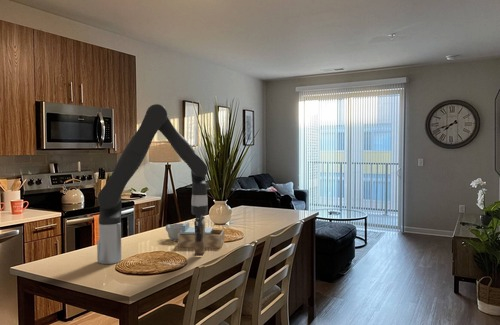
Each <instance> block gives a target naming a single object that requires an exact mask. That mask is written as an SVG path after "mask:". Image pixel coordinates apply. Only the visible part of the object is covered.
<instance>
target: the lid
mask: <svg viewBox="0 0 500 325" xmlns="http://www.w3.org/2000/svg"><path fill="white" fill-rule="evenodd" d="M182 224H183V225H182V230H181V231H180V234H195V226H190V221H185V222H184V223H182ZM213 229H214V226H205V234H210V233H211V232H212V230H213Z"/></svg>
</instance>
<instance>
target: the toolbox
mask: <svg viewBox="0 0 500 325" xmlns="http://www.w3.org/2000/svg"><path fill="white" fill-rule="evenodd" d="M225 230H226V229H214V228H213V230H212V232H211V233H210V234H205V248H219V249H220V248H222V247H224V246H223V245H224V244H225V239H226V238H225V233H226V232H225ZM177 247H178V248H195V234H180V233H179V234H178V241H177Z"/></svg>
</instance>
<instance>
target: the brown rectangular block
mask: <svg viewBox="0 0 500 325" xmlns="http://www.w3.org/2000/svg"><path fill="white" fill-rule="evenodd" d="M200 227H201V226H200ZM205 227H206V223H205V221H204V223H203V228H202V231H201V232H202V233H201V242H197V241H196V233H195V247H194V254H196V255H198V254H199V255H204V254H205V252H206V247H205ZM197 230H199V229H197Z"/></svg>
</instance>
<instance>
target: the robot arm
mask: <svg viewBox="0 0 500 325" xmlns="http://www.w3.org/2000/svg"><path fill="white" fill-rule="evenodd" d="M158 131H159V132H160V134H162V135H163V136H164V138H165V139H166V140H167V141H168V143H169V144H170V146H171V147H172V149H173V150H174V151H175V152H176V154H177V155H178V156H179V158H180V159H181V160H182V161H183V162H184V163H185V164H186V165H187V166H188V168H189V169H190V174H191V176H190V177H191V185H192V186H191V214H192V215H193V216H195V218H194V227H195V233H196V241H197V242H201V233H202V232H201V231H202V228H203V223H204V222H205V220H206V218H205V216H206V215H208V214H209V213H208V210H209V206H208V205H209V204H208V203H209V202H208V201H209V200H208V199H209V198H208V184H207V182H206V177H207V174H208V172H209V171H208V170H209V168H208V165H207V163H206V162H205V161H204V160H203V159H202V158H201V157H200V156H199V155H198V153H196V151H195V149H194V148H193V147H192V146H191V144H190V143H189V142H188V140H187V139H186V138H185V137H184V136H183V135H182V134H181V133H180V132H179V131H178V130H177V129H176V127H175V126H174V125H173V123H172V121H171V120H170V118H169V116H168V111H167V109H166V107H165V106H164V105H162V104H159V103H155V104H154V103H153V104H152V105H150V106H148V108H147V109H146V112H145V115H144V117H143V119H142V121H141V124H140V126H139V128H138V129H137V131H136V132H135V134H133V136H132V137H131V138H130V139H129V141H128V143H127V144H126V146H125V148H124V149H123V150H122V153H121V155H120V156H119V158H118V160H117V162H116V165H115V167H114V169H113V172H112V173H111V176H110V177H109V179H108V181H107V182H106V183H105V184H104V186H103V187H102V189H101V190H99V192H98V194H97V197H96V198H97V199H96V200H97V203H98V205H99V214H98V215H99V216H98V240H97V241H96V242H97V243H96V249H97V251H96V252H97V259H96V260H97V261H96V262H97V263H98V264H102V265H111V264H117V263H119V262H122V194H123V192H124V190H125V187H126V185H127V184H128V183H129V181H130V179H131V178H132V177H134V175H135V173H136V172H137V170H138V169H139V168H140V166H141V164H142V163H143V162H144V160H145V158H146V155H147V153H148V151H149V149H150V147H151V144H152V142H153V140H154V137H155V136H156V134H157V133H158ZM204 215H205V216H204ZM200 226H201V227H200ZM197 229H199V230H197Z"/></svg>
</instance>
